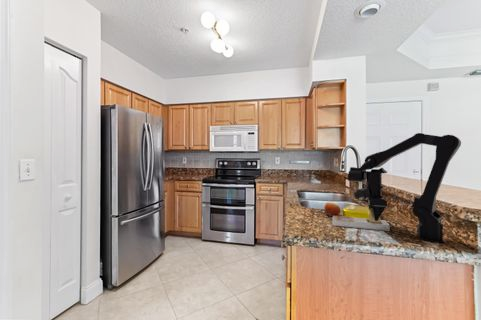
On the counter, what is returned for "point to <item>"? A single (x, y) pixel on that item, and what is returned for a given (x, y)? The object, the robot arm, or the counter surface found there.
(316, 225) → the counter surface
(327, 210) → the fruit
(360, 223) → the rail bar
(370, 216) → the brass peg
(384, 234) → the counter surface
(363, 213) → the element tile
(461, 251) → the counter surface
